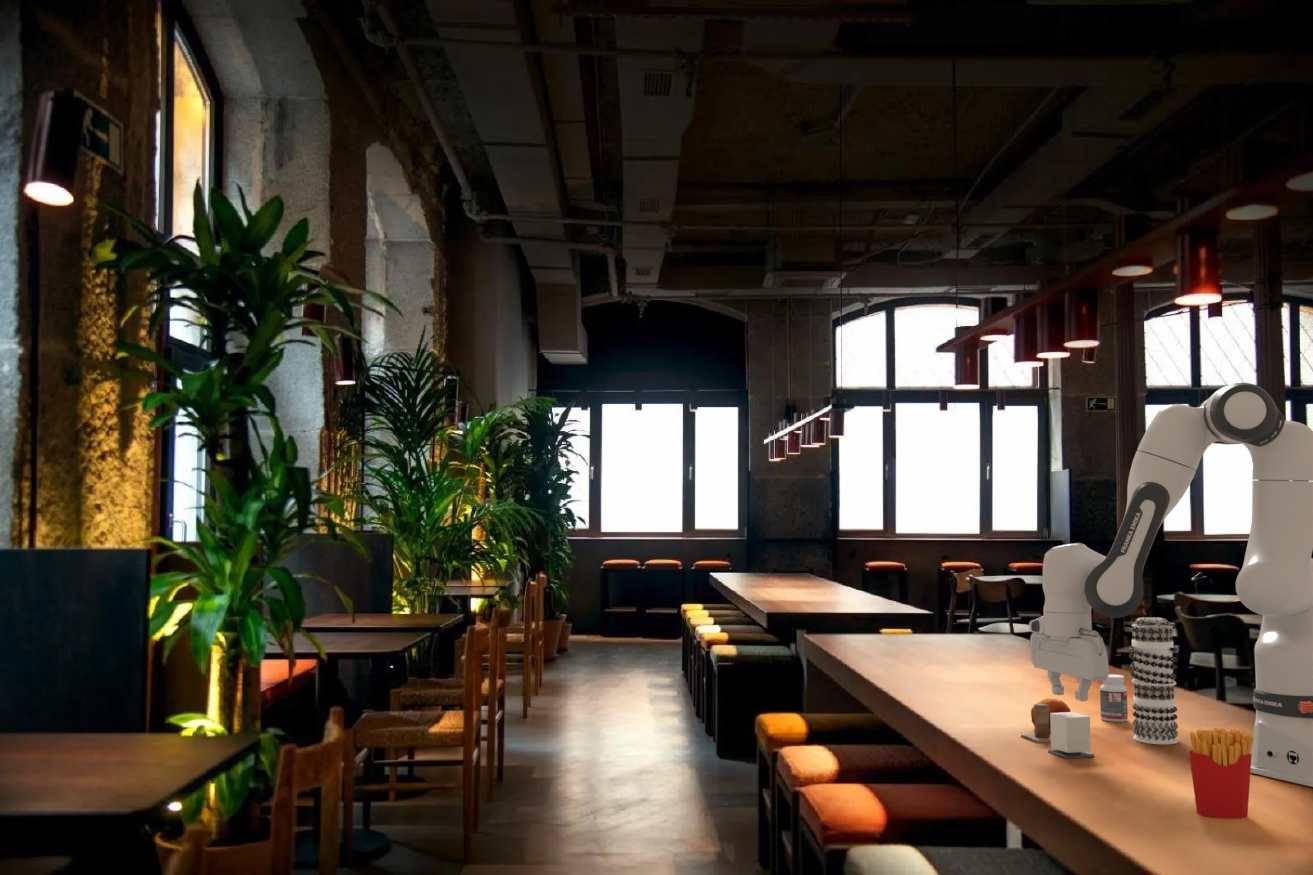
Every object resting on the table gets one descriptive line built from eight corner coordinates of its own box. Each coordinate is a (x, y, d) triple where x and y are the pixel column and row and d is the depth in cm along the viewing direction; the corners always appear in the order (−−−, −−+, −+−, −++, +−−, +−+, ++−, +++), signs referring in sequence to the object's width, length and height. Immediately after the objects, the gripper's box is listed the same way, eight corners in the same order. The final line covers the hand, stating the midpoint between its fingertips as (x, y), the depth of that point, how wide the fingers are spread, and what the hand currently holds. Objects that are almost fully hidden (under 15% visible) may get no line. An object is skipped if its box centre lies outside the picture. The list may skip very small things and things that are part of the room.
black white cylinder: (1155, 734, 233) (1151, 615, 235) (1190, 742, 224) (1186, 619, 226) (1121, 737, 230) (1117, 617, 231) (1156, 746, 221) (1152, 621, 223)
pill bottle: (1130, 723, 245) (1129, 678, 246) (1103, 722, 247) (1102, 677, 247) (1124, 718, 251) (1123, 674, 252) (1098, 717, 252) (1097, 673, 253)
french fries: (1198, 817, 170) (1195, 732, 171) (1187, 810, 174) (1185, 727, 175) (1260, 819, 169) (1257, 733, 170) (1248, 811, 173) (1244, 727, 174)
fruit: (1051, 730, 230) (1039, 694, 235) (1033, 743, 236) (1021, 708, 241) (1084, 728, 232) (1071, 692, 237) (1065, 741, 238) (1052, 706, 243)
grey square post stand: (1094, 756, 212) (1093, 720, 212) (1066, 758, 210) (1065, 721, 211) (1074, 750, 218) (1073, 714, 218) (1048, 752, 216) (1047, 715, 217)
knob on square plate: (1063, 741, 226) (1062, 706, 227) (1037, 742, 225) (1037, 708, 225) (1046, 735, 232) (1045, 701, 232) (1021, 737, 230) (1020, 703, 231)
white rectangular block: (1090, 751, 212) (1089, 716, 213) (1067, 752, 211) (1066, 717, 211) (1074, 745, 217) (1073, 711, 218) (1051, 747, 216) (1050, 713, 216)
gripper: (1116, 631, 206) (1118, 705, 205) (1051, 621, 226) (1053, 689, 225) (1086, 632, 205) (1089, 707, 204) (1023, 621, 224) (1025, 690, 224)
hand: (1069, 697), depth 215 cm, fingers open, 6 cm apart
